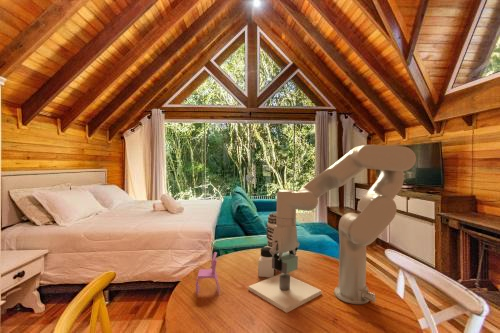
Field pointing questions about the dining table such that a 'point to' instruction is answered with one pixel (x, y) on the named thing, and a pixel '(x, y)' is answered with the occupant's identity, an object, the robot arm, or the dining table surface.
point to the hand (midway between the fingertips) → (284, 266)
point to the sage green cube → (287, 262)
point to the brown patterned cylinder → (270, 228)
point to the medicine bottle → (265, 263)
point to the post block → (284, 291)
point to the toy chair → (208, 273)
